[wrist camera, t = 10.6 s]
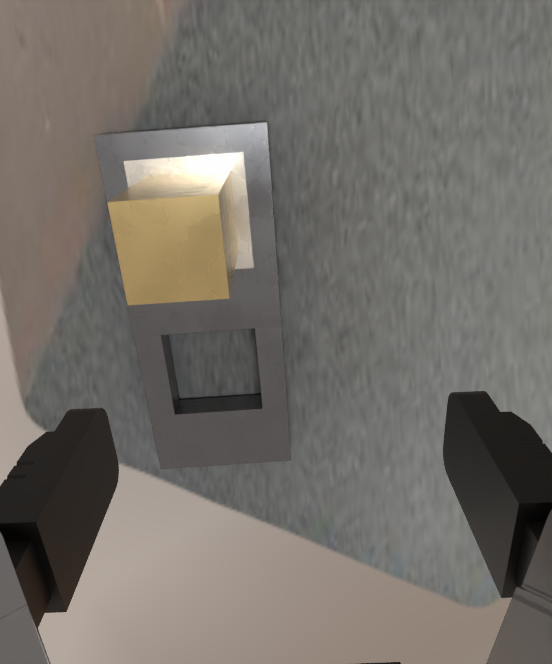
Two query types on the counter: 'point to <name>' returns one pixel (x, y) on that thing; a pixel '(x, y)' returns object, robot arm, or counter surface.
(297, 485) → the counter surface
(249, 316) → the grey slotted holder
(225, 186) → the yellow wooden block
